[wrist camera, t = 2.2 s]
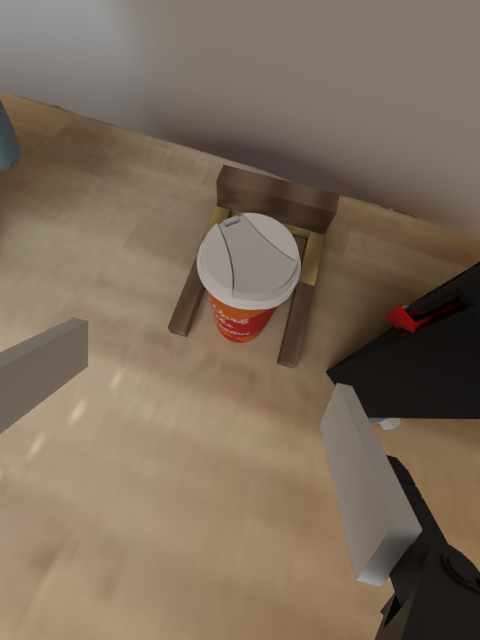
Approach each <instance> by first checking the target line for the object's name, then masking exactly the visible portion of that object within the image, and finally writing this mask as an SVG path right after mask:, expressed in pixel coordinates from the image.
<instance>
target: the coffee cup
mask: <svg viewBox="0 0 480 640" xmlns="http://www.w3.org/2000/svg"><path fill="white" fill-rule="evenodd" d="M197 270H198V274H199V277H200V279H201V282H202V283H203V285H204V286H205V288H206V289H207V291H208V295H209V299H210V303H211V306H212V310H213V314H214V317H215V321H216V324H217V327H218V329H219V331H220V332H221V334H222V335H223V336H224V337H226V338H227V339H229V340H231V341H233V342H239V343H241V342H247V341H250V340H252V339H254V338H255V337H256V336H257V335H258V334H259V333H260V332H261V331H262V329H263V328H264V326H265V325H266V323H267V322H268V320H269V319H270V317H271V316H272V314H273V313H274V311H275V309H276V308H277V306H278V305H279V304H281V303H283V302H284V301H285V300H287V299H288V298H289V297H290V295H291V293H292V291H293V289H294V288H295V286H296V284H297V282H298V280H299V277H300V272H301V261H300V256H299V251H298V247H297V244H296V241H295V239H294V238H293V236H292V234H291V233H290V232H289V231H288V229H287V228H286V227H285V226H283V225H282V224H281V223H280V222H278V221H277V220H275V219H273V218H271V217H268V216H265V215H262V214H257V213H243V214H242V215H241V216H237V215H236V216H233V217H231V218H228V219H226V220H223V223H220V224H218V225H217V223H216V224H215V225H214V226H213V227H212V228H211V229H210V231H209V232H208V233H207V235H206V237H205V239H204V240H203V242H202V244H201V245H200V248H199V251H198V254H197Z"/></svg>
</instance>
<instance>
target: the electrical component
mask: <svg viewBox="0 0 480 640" xmlns="http://www.w3.org/2000/svg"><path fill="white" fill-rule="evenodd" d="M385 316H386V317H387V318H388V320H389V321H390V322H391V323H392V324H393V326H394V327H393V328H391V329H390V330H388V331H387V332H385V333H384V334H382V335H381V336H379V337H378V338H376V339H375V340H373V341H372V342H370V343H369V344H367V345H366V346H364V347H363V348H361V349H360V350H358V351H357V352H355V353H354V354H352V355H351V356H349V357H348V358H346V359H344V360H343V361H341V362H340V363H338V364H337V365H335V366H334V367H332V368H331V369H329V370H328V371H326V373H327V374H328V376H329V377H330V379H331V380H332V381H333V383H334V384H335V386H336V384H337V383H340V384H344V385H348V386H352V387H353V389H354V391H355V393H356V395H357V397H358V399H359V401H360V403H361V405H362V408H363V410H364V412H365V414H366V416H367V418H368V420H369V422H379V424H380V425H381V427H382V428H383V429H384V430H391V429H393V428H395V427H397V426H398V425H399V424H400V422H401V420H400V419H399V418H431V419H480V262H479V263H477V264H475V265H474V266H472V267H470V268H469V269H467V270H466V271H464V272H462V273H461V274H459V275H457V276H456V277H454V278H452V279H451V280H449V281H447V282H446V283H444V284H442V285H441V286H439V287H438V288H436V289H434V290H433V291H431V292H429V293H428V294H426V295H424V296H423V297H421V298H419V299H418V300H416V301H415V302H413V303H412V304H410V305H403V306H402V307H401V306H399V307H397V308H395V309H394V310H392V311H390V312H389V313H387V314H386V315H385Z"/></svg>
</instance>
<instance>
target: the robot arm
mask: <svg viewBox="0 0 480 640" xmlns="http://www.w3.org/2000/svg"><path fill="white" fill-rule="evenodd" d="M20 154H21V153H20V146H19V143H18V139H17V136H16V134H15V131H14V129H13V126H12V124H11V122H10V119H9V117H8V115H7V113H6V111H5V108H4V106H3V104H2V102H1V100H0V173H1V172H4V171H7V170H10V169H12V168H14V167H15V166H16V165H17V164H18V163H19V160H20ZM86 367H88V321H85V320H81V319H77V318H72V319H70V320H68V321H66V322H64V323H62V324H59V325H57V326H55V327H53V328H51V329H49V330H47V331H45V332H43V333H40V334H38V335H36V336H34V337H32V338H30V339H28V340H26V341H24V342H21V343H19V344H17V345H15V346H13V347H11V348H9V349H7V350H5V351H2V352H0V434H1V433H2V432H3V431H5V430H6V429H7V428H9V427H10V426H11V425H12V424H14V423H15V422H16V421H18V420H19V419H20V418H21V417H23V416H24V415H25V414H27V413H28V412H29V411H31V410H32V409H33V408H34V407H36V406H37V405H38V404H40V403H41V402H42V401H44V400H45V399H46V398H47V397H49V396H50V395H51V394H53V393H54V392H55V391H56V390H58V389H59V388H60V387H62V386H63V385H64V384H66V383H67V382H68V381H69V380H71V379H72V378H73V377H75V376H76V375H77V374H78V373H80V372H81V371H82V370H84V369H85V368H86ZM320 428H321V432H322V437H323V441H324V445H325V449H326V454H327V458H328V462H329V466H330V471H331V475H332V479H333V483H334V488H335V492H336V496H337V500H338V505H339V509H340V513H341V517H342V522H343V526H344V530H345V535H346V539H347V543H348V547H349V552H350V556H351V560H352V564H353V569H354V573H355V577H356V580H357V581H361V582H364V583H368V584H372V585H375V586H379V587H382V585H383V584H384V582H385V581H386V580H387V578H388V577H389V576H390V578H391V581H392V584H393V587H394V590H395V593H394V594H393V596H392V597H391V598H390V599H389V601H388V602H387V603H386V605H385V606H384V607H383V608H382V610H381V611H380V612H381V613H382V614H383V615H384V616H383V619H382V622H381V624H380V627H379V629H378V632H377V635H376V637H375V640H480V572H479V571H478V569H477V568H476V567H475V566H474V564H473V563H472V562H471V561H470V560H469V559H468V558H467V557H466V556H464V555H463V554H462V553H461V552H460V551H458V550H457V549H455V548H454V547H452V546H451V545H449V544H448V543H447V541H446V539H445V537H444V536H443V534H442V532H441V530H440V528H439V526H438V525H437V523H436V521H435V519H434V517H433V515H432V514H431V512H430V510H429V508H428V506H427V505H426V503H425V501H424V499H423V498H422V497H421V496H422V495H421V494H420V492H419V490H418V488H417V487H415V483H414V481H413V479H412V477H411V475H410V474H409V472H408V470H407V469H406V468H405V467H404V466H403V465H402V463H401V462H400V461H399V460H398V459H397V458H396V457H392V456H388V455H386V454H385V452H384V450H383V448H382V446H381V444H380V442H379V440H378V438H377V436H376V434H375V432H374V430H373V428H372V426H371V424H370V422H369V420H368V418H367V416H366V414H365V412H364V410H363V408H362V405H361V403H360V401H359V399H358V397H357V395H356V393H355V391H354V389H353V387H352V386H348V385H344V384H340V383H337V384H336V387H335V389H334V392H333V394H332V397H331V399H330V401H329V404H328V406H327V409H326V411H325V413H324V416H323V418H322V421H321V423H320Z"/></svg>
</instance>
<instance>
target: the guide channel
mask: <svg viewBox="0 0 480 640" xmlns="http://www.w3.org/2000/svg"><path fill="white" fill-rule="evenodd" d="M338 200H339V195H338V194H334V193H330V192H327V191H323V190H319V189H315V188H311V187H307V186H303V185H300V184H296V183H292V182H288V181H284V180H280V179H277V178H273V177H269V176H265V175H261V174H257V173H253V172H250V171H246V170H242V169H238V168H234V167H230V166H226V165H223V167H222V169H221V172H220V174H219V177H218V179H217V206H216V207H215V209H214V212H213V214H212V217H211V219H210V222H209V224H208V227H207V229H206V231H205V234H204V236H203V239H202V241H201V244H202V242H203V240H204V239H205V237H206V235H207V233H208V232H209V231H210V229H211V228H212V227H213V226H214V225H215V224H216V223H217V225H218V224H220V223H223V220H226V219H228V218H231V217H233V216H236V215H237V216H241V215H242V214H243V213H257V214H262V215H265V216H268V217H271V218H273V219H275V220H277V221H278V222H280V223H281V224H282V225H283V226H285V227H286V228H287V229H288V231H289V232H290V233H291V234H292V235H294V236H297V237H301V238H305V239H306V243H305V247H304V251H303V255H302V260H301V272H300V277H299V280H298V282H297V284H296V286H295V289H294V293H293V298H292V302H291V306H290V310H289V315H288V319H287V323H286V327H285V332H284V336H283V340H282V344H281V348H280V353H279V357H278V361H277V364H280V365H284V366H287V367H290V368H294V367H295V366H297V364H298V359H299V354H300V349H301V345H302V340H303V335H304V330H305V325H306V321H307V316H308V311H309V306H310V302H311V297H312V292H313V287H314V286H315V282H316V277H317V272H318V267H319V263H320V258H321V253H322V248H323V243H324V238H325V235H324V234H325V232H326V230H327V228H328V227H329V225H330V223H331V221H332V219H333V217H334V216H335V214H336V211H337V205H338ZM201 244H200V245H201ZM199 248H200V246H199ZM198 251H199V249H198ZM198 251H197V254H198ZM204 289H205V286H204V285H203V283H202V282H201V279H200V277H199V274H198V270H197V256H196V259H195V261H194V264H193V266H192V269H191V271H190V274H189V276H188V279H187V281H186V284H185V286H184V289H183V291H182V293H181V296H180V298H179V301H178V303H177V306H176V308H175V311H174V313H173V316H172V318H171V321H170V323H169V326H168V329H169V330H170V332H171V333H174V334H178V335H181V336H184V337H187V334H188V332H189V329H190V326H191V324H192V321H193V318H194V316H195V313H196V310H197V308H198V305H199V302H200V299H201V297H202V294H203V291H204Z"/></svg>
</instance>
